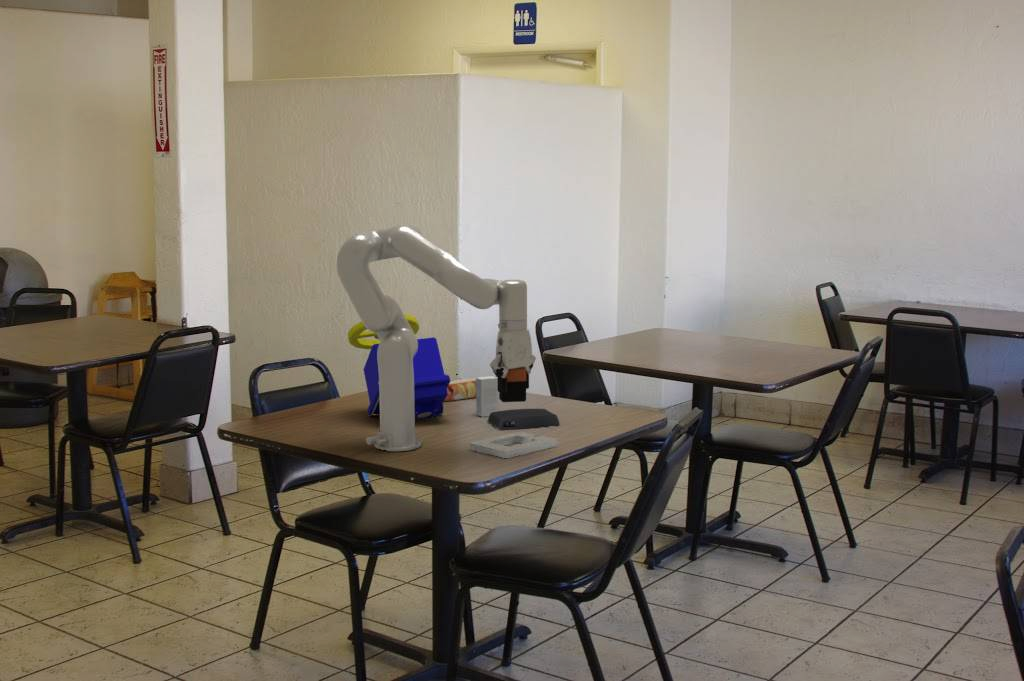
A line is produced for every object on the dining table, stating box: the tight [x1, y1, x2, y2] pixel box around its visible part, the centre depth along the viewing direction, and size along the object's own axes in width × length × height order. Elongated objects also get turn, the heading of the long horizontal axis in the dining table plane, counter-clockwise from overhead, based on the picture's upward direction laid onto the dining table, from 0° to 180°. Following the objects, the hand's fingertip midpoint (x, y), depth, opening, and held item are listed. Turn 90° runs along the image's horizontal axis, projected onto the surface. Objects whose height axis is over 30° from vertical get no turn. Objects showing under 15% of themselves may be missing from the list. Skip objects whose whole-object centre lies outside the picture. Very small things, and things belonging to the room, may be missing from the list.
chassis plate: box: [468, 431, 558, 459], centre depth 304 cm, size 20×14×2 cm
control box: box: [347, 313, 451, 421], centre depth 342 cm, size 26×27×30 cm
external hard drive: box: [486, 408, 561, 431], centre depth 335 cm, size 13×19×4 cm
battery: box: [498, 367, 527, 403], centre depth 302 cm, size 4×7×10 cm, turn 102°
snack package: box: [444, 377, 477, 402], centre depth 373 cm, size 21×7×7 cm, turn 123°
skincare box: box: [475, 375, 500, 418], centre depth 347 cm, size 6×4×12 cm
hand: (513, 389), depth 302 cm, fingers closed on battery, 7 cm apart
